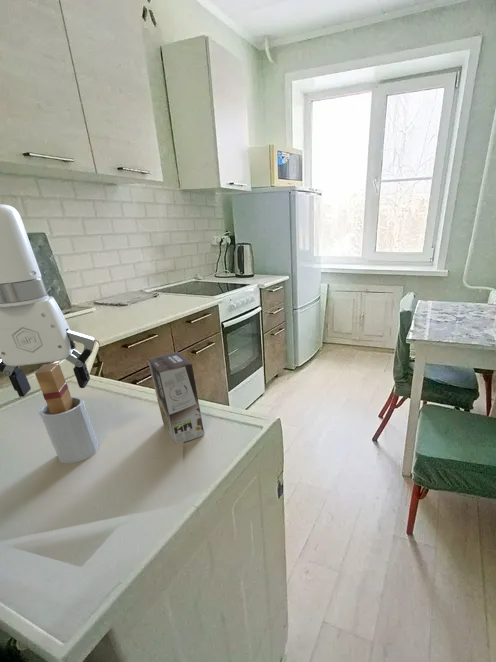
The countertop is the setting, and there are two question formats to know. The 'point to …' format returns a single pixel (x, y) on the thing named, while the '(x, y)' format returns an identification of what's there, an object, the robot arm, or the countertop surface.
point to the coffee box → (177, 396)
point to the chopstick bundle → (54, 388)
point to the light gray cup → (71, 432)
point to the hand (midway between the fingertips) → (55, 389)
